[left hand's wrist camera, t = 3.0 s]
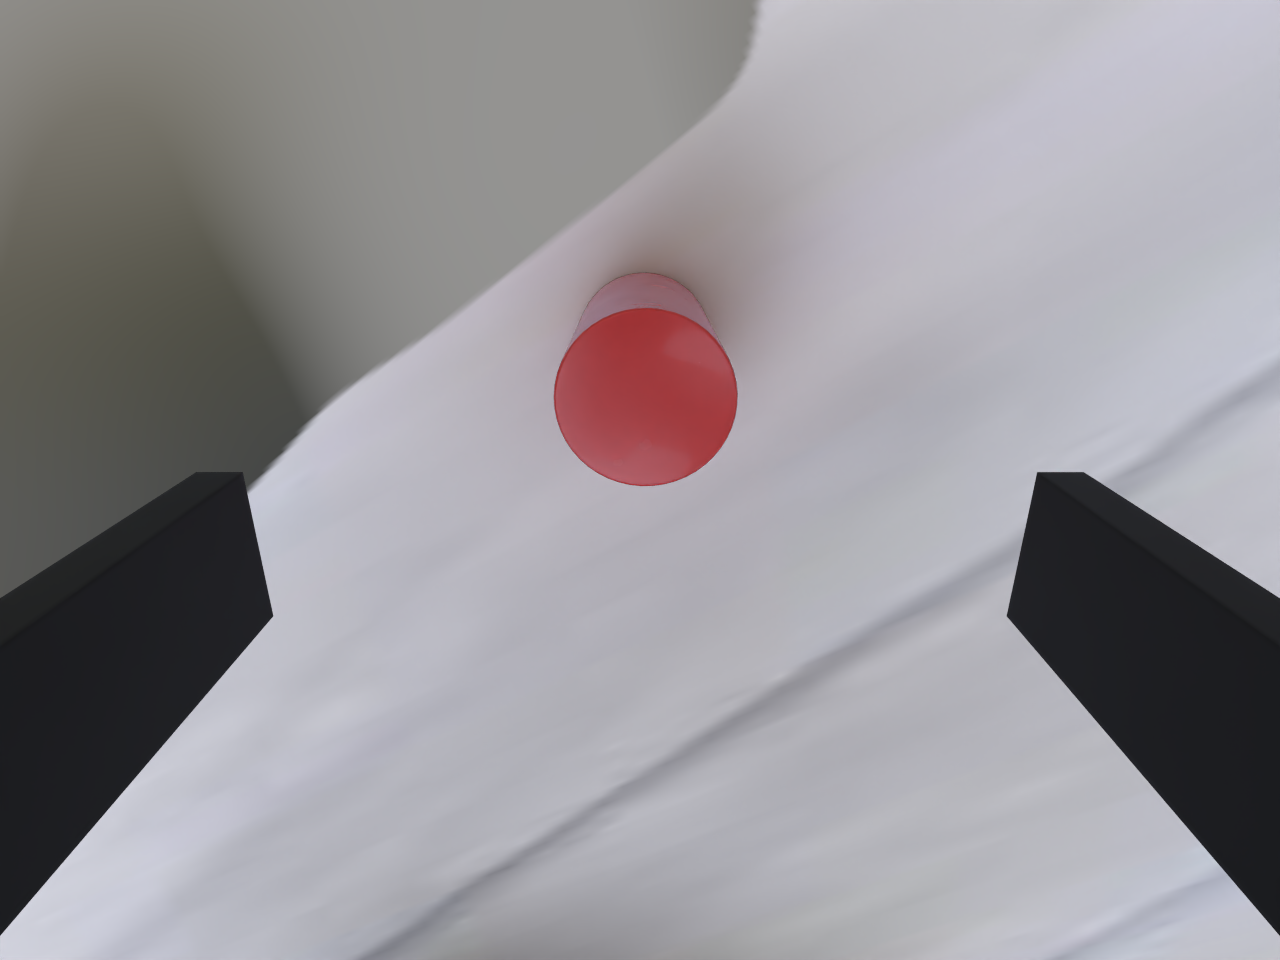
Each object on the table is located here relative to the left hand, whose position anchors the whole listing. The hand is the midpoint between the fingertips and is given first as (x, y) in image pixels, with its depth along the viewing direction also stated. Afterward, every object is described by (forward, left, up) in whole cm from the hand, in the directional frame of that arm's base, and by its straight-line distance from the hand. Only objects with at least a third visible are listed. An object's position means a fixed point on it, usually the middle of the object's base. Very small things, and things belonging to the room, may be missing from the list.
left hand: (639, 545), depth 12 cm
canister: (0, 0, -18) cm, 18 cm away
